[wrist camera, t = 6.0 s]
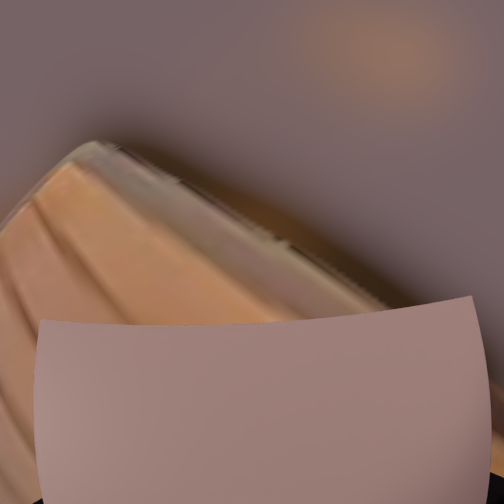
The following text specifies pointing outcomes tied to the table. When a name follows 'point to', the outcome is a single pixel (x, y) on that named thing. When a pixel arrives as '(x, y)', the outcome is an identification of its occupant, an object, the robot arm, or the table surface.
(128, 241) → the table surface
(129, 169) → the table surface
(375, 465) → the rose card box
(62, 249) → the table surface
